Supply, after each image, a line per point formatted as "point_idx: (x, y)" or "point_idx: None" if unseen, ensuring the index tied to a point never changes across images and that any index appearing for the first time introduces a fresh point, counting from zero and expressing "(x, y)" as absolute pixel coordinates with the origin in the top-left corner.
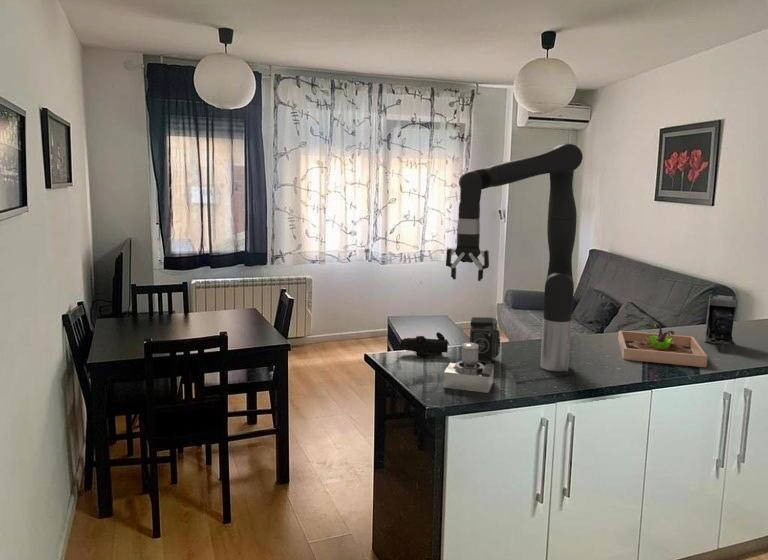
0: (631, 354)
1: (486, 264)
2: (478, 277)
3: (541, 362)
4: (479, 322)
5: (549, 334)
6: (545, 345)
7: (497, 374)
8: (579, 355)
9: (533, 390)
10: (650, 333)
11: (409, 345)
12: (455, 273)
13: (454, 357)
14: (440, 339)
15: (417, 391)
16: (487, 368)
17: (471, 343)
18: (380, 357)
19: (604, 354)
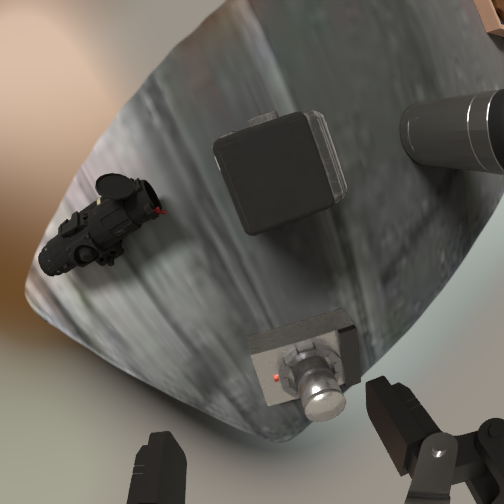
0: (500, 32)
1: (486, 481)
2: (380, 431)
3: (411, 149)
4: (283, 221)
5: (478, 170)
6: (449, 162)
7: (335, 255)
8: (432, 24)
9: (413, 299)
10: None
11: (72, 268)
12: (175, 481)
13: (180, 189)
14: (114, 181)
15: (232, 417)
16: (350, 360)
17: (325, 398)
18: (47, 301)
19: (458, 8)
